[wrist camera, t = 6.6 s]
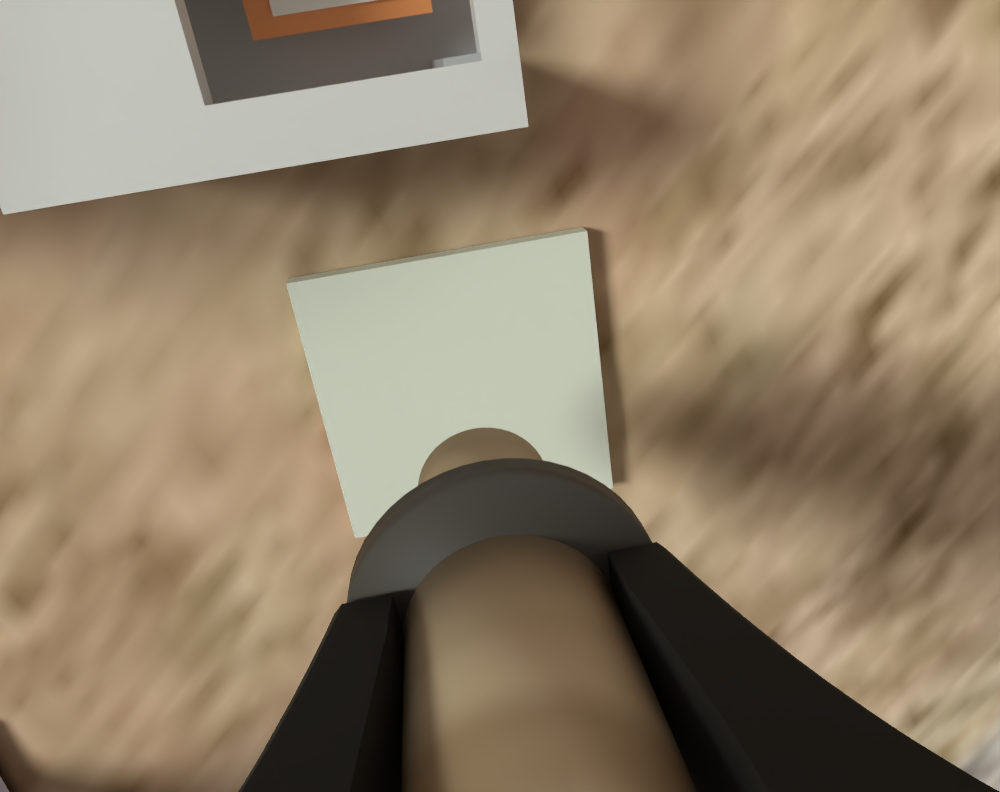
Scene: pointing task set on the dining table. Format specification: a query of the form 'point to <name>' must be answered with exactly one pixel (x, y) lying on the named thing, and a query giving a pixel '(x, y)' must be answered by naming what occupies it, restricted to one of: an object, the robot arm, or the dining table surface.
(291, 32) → the plate
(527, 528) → the stylus
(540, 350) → the rest pad
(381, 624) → the robot arm
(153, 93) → the box
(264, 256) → the dining table surface
